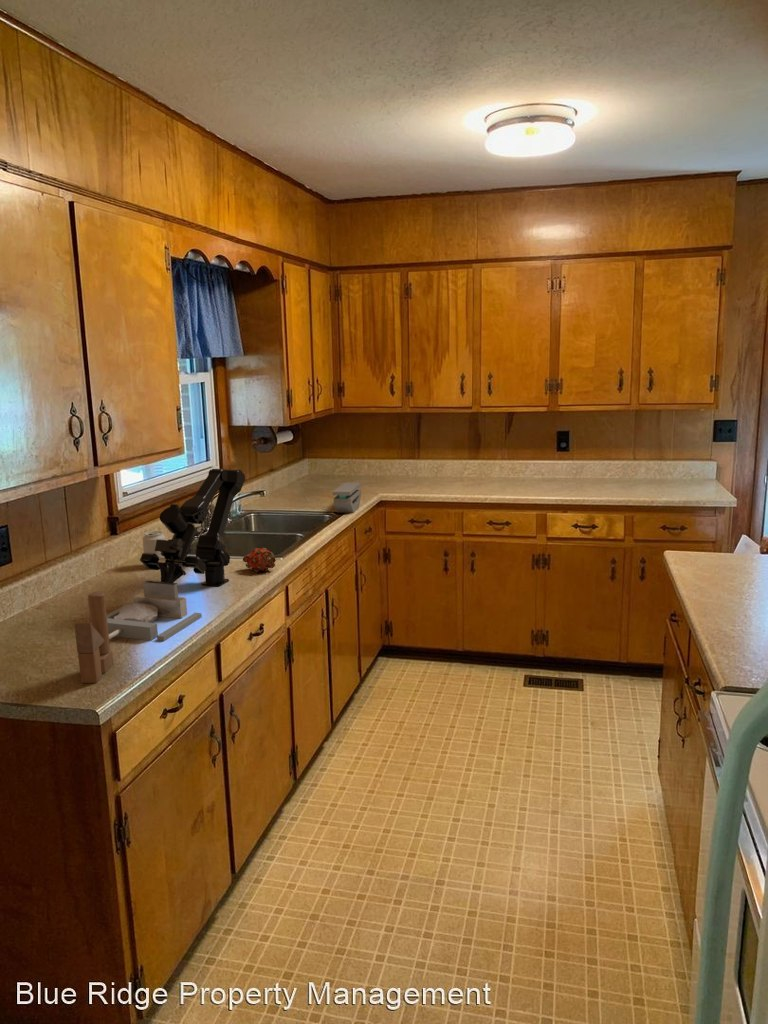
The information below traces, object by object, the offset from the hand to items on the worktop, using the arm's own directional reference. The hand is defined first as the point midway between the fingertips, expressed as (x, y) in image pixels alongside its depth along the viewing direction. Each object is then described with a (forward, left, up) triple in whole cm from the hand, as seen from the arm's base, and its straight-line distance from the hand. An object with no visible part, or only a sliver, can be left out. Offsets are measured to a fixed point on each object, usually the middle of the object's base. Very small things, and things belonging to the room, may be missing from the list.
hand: (162, 589), depth 208 cm
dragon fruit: (-44, +7, -7) cm, 45 cm away
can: (-40, -30, -7) cm, 51 cm away
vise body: (+15, 0, -7) cm, 17 cm away
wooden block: (+40, +9, -7) cm, 42 cm away
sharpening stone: (-144, +2, -7) cm, 144 cm away
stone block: (+9, -2, -7) cm, 12 cm away
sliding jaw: (+2, 0, -7) cm, 7 cm away
